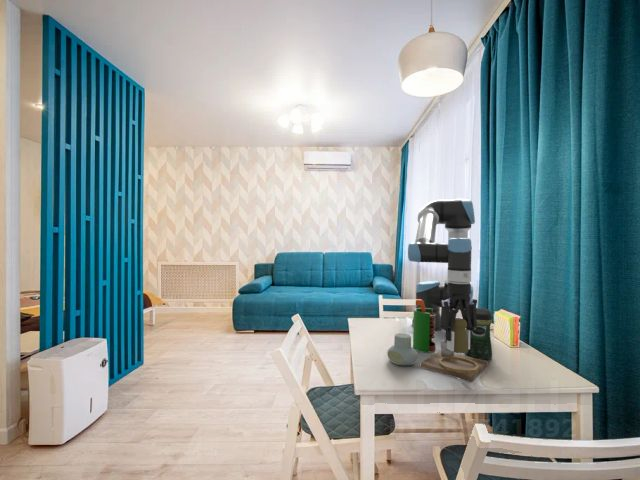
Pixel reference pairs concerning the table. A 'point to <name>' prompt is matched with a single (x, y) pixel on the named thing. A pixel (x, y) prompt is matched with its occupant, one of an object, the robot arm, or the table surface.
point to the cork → (460, 336)
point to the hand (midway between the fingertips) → (458, 348)
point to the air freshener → (402, 350)
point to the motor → (423, 328)
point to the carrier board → (454, 364)
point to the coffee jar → (481, 336)
